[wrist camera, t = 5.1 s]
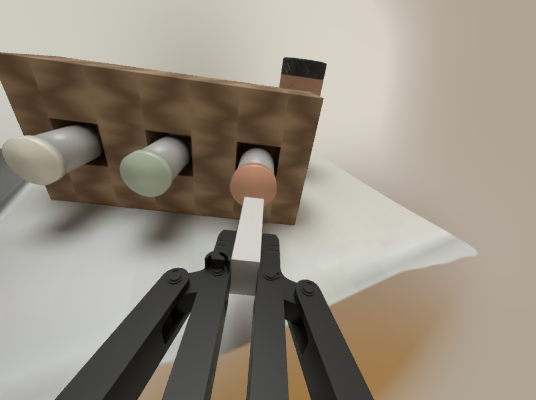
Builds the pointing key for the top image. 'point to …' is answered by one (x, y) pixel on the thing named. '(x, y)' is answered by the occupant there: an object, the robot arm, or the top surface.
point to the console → (165, 130)
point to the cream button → (52, 153)
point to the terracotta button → (254, 176)
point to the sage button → (155, 166)
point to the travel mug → (302, 75)
